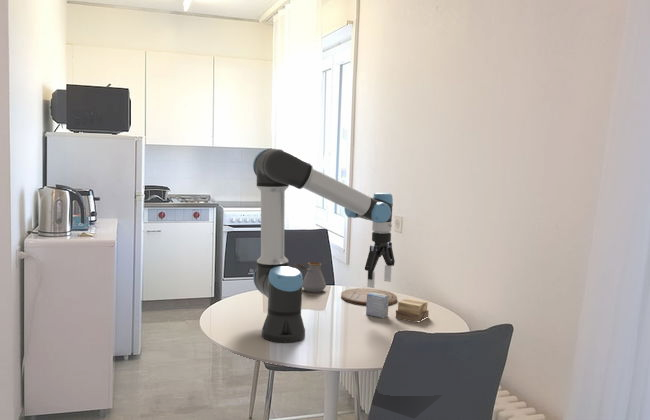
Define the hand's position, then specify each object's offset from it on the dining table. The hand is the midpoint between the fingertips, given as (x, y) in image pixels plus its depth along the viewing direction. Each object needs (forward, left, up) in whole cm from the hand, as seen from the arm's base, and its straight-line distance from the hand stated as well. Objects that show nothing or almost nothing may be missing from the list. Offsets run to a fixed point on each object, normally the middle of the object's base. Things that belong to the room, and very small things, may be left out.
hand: (379, 284), depth 228 cm
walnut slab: (+7, -12, -13) cm, 19 cm away
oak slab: (+7, -12, -10) cm, 17 cm away
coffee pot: (+10, +42, -13) cm, 45 cm away
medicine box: (0, 0, -13) cm, 13 cm away
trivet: (+21, +16, -13) cm, 29 cm away
